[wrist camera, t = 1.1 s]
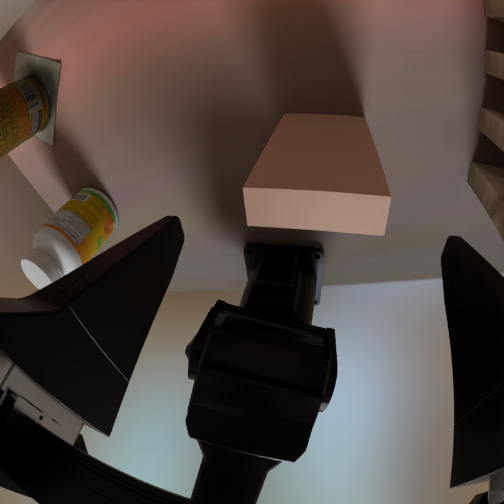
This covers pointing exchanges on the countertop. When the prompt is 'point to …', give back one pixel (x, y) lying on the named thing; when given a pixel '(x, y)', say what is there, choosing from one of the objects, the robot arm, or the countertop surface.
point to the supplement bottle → (70, 237)
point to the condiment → (29, 102)
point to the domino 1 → (319, 177)
